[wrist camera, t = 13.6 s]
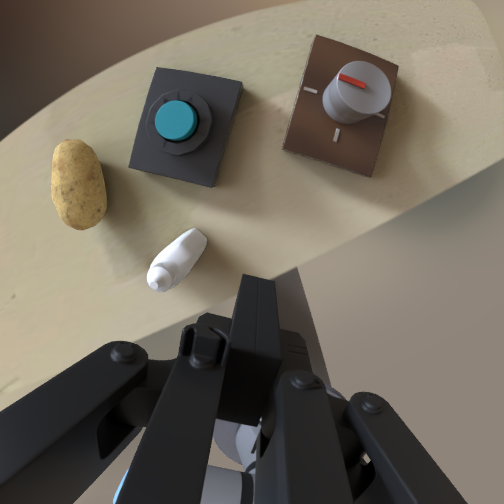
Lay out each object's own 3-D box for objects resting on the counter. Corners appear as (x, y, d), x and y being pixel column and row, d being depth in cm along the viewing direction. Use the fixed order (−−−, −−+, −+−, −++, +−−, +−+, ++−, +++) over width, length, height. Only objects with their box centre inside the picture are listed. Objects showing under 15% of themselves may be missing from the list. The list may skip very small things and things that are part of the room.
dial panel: (364, 177, 34) (371, 177, 31) (281, 149, 34) (282, 148, 31) (391, 71, 30) (399, 65, 28) (312, 42, 30) (315, 33, 27)
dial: (372, 90, 29) (397, 73, 22) (361, 131, 30) (385, 122, 23) (328, 74, 29) (344, 51, 22) (317, 114, 30) (331, 101, 23)
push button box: (215, 186, 35) (208, 189, 31) (135, 167, 35) (121, 167, 31) (243, 86, 32) (241, 77, 28) (162, 72, 32) (150, 62, 28)
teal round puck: (191, 144, 30) (187, 143, 29) (156, 136, 30) (150, 135, 29) (202, 107, 29) (198, 104, 28) (166, 100, 29) (161, 97, 27)
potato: (79, 229, 37) (52, 239, 31) (63, 148, 34) (34, 147, 28) (120, 218, 36) (96, 228, 30) (105, 132, 34) (78, 128, 28)
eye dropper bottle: (160, 238, 37) (117, 269, 25) (203, 224, 36) (174, 251, 25) (172, 272, 38) (136, 315, 26) (215, 259, 37) (193, 301, 26)
